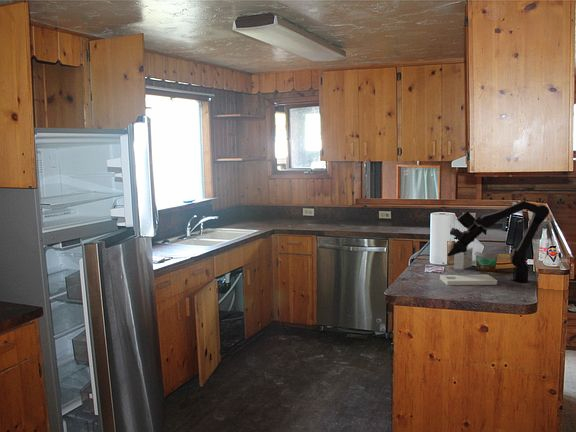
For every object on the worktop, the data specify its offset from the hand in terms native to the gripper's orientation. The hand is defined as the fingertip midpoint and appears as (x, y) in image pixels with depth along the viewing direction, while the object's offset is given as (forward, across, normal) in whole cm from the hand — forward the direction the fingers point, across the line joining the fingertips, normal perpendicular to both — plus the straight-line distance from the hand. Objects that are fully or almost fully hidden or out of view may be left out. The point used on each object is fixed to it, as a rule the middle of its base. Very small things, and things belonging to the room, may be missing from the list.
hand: (447, 254), depth 268 cm
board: (+1, +8, +15) cm, 17 cm away
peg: (+4, 0, +6) cm, 7 cm away
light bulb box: (+2, -25, +14) cm, 29 cm away
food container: (-6, -19, +23) cm, 30 cm away
